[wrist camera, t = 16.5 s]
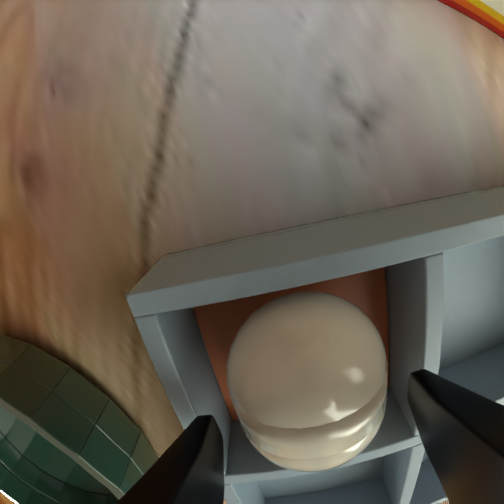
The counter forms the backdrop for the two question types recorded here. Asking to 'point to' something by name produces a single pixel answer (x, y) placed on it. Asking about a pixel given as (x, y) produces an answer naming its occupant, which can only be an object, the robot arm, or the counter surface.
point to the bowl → (62, 433)
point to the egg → (308, 380)
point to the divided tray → (364, 297)
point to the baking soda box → (482, 12)
